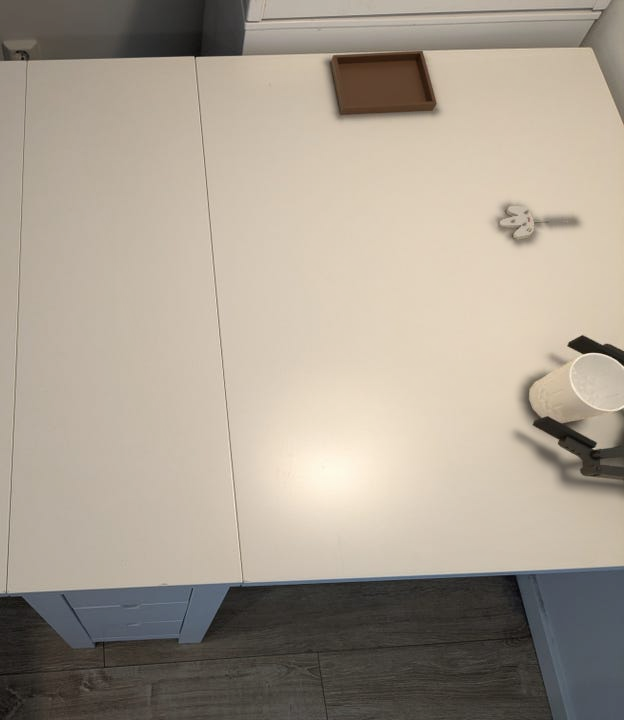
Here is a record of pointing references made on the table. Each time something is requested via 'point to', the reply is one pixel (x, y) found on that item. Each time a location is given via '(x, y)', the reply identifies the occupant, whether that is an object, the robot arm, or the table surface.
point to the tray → (382, 83)
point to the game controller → (519, 221)
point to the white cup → (580, 389)
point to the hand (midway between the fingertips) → (557, 379)
